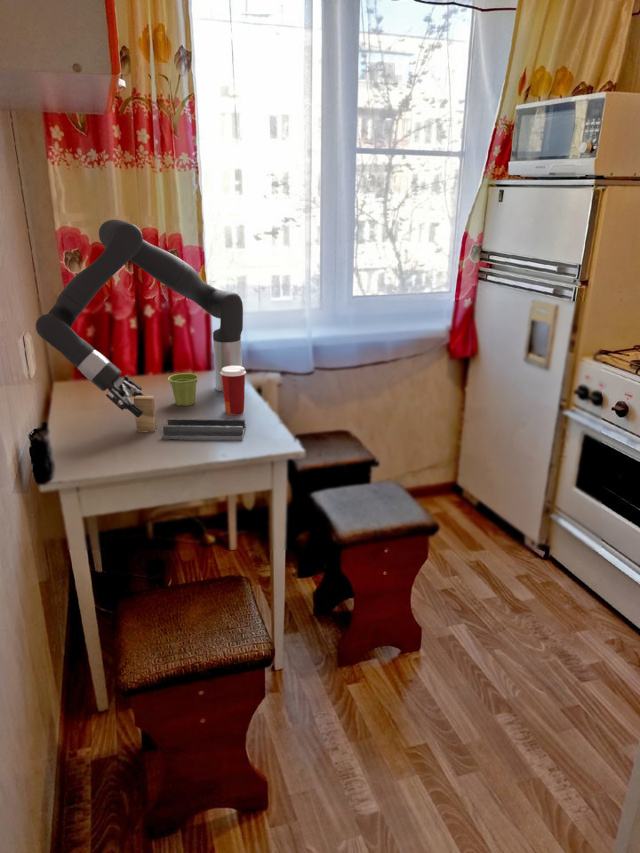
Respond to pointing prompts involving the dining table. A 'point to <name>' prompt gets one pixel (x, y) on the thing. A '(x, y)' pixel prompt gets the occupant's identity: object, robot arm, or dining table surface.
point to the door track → (204, 429)
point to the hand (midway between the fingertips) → (145, 409)
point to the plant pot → (184, 388)
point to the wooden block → (146, 413)
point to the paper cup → (233, 389)
